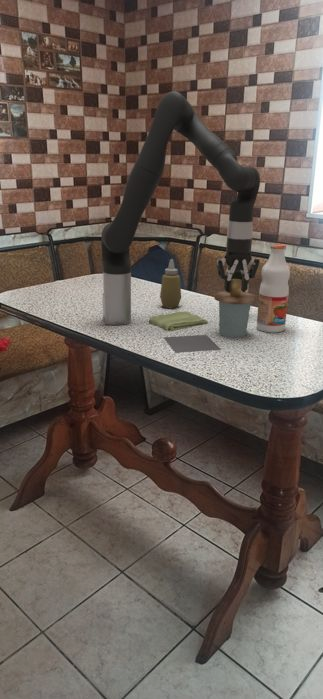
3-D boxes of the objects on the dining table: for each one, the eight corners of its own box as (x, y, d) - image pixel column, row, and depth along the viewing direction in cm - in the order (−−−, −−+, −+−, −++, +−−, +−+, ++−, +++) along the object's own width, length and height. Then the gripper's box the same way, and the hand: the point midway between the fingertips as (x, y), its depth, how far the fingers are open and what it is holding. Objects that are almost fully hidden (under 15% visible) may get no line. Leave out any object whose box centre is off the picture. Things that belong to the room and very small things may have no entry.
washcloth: (210, 325, 179) (210, 316, 178) (169, 334, 169) (169, 325, 168) (185, 316, 189) (186, 308, 188) (145, 324, 179) (145, 315, 178)
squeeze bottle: (181, 304, 204) (183, 258, 198) (180, 309, 196) (181, 261, 190) (160, 303, 204) (161, 257, 198) (158, 308, 197) (159, 261, 191)
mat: (175, 354, 151) (175, 352, 151) (163, 339, 164) (163, 337, 164) (221, 351, 154) (221, 349, 154) (206, 336, 167) (206, 334, 167)
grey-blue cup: (213, 338, 166) (216, 301, 162) (220, 328, 175) (222, 293, 171) (246, 341, 163) (249, 304, 159) (250, 332, 172) (253, 296, 168)
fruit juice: (261, 323, 182) (268, 241, 173) (288, 327, 178) (297, 244, 168) (252, 330, 174) (259, 245, 165) (279, 334, 170) (288, 248, 161)
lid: (222, 305, 158) (224, 285, 155) (208, 294, 169) (209, 276, 167) (262, 303, 161) (264, 283, 159) (246, 293, 172) (247, 275, 170)
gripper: (221, 238, 153) (218, 295, 159) (266, 237, 157) (261, 293, 162) (213, 235, 160) (210, 289, 166) (256, 234, 164) (252, 288, 169)
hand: (235, 291), depth 164 cm, fingers open, 4 cm apart
